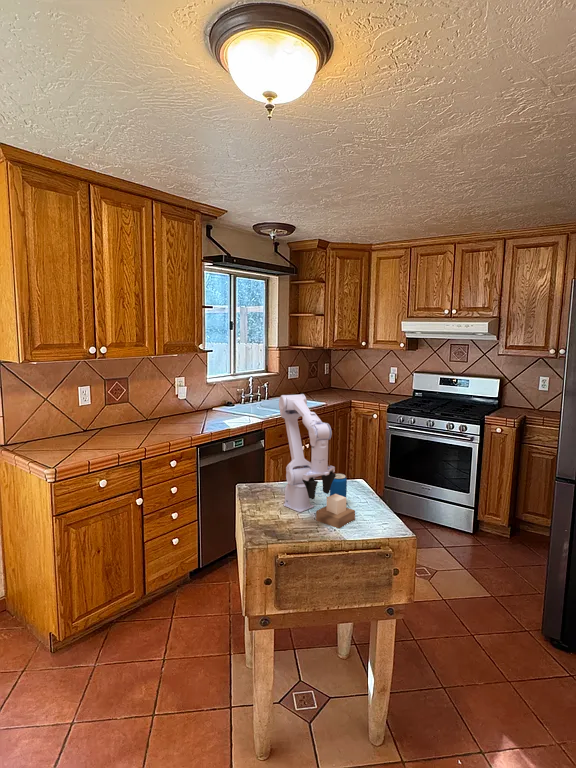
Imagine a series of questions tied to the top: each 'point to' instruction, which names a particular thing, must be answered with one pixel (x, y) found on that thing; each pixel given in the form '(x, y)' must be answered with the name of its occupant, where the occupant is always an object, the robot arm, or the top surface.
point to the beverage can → (339, 485)
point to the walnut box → (335, 517)
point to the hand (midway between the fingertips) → (318, 495)
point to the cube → (336, 504)
